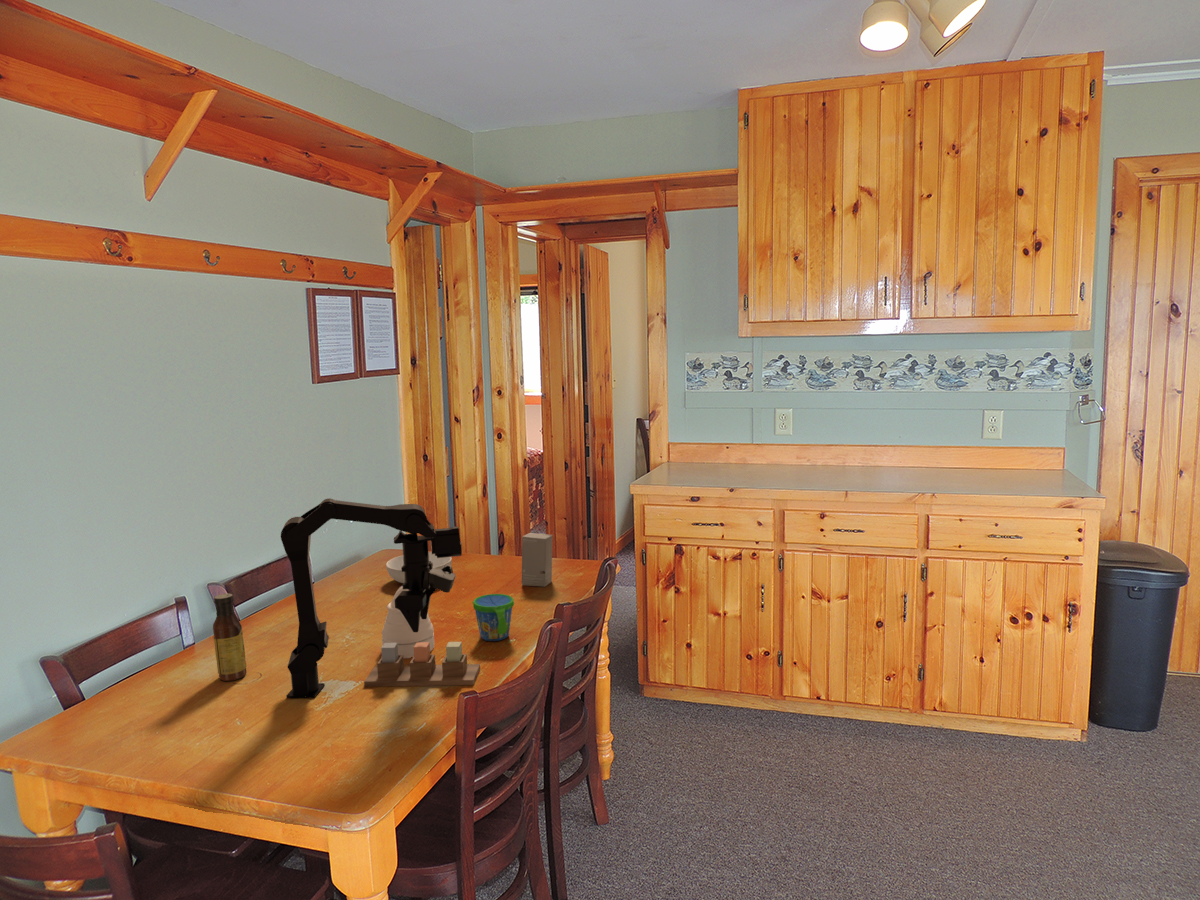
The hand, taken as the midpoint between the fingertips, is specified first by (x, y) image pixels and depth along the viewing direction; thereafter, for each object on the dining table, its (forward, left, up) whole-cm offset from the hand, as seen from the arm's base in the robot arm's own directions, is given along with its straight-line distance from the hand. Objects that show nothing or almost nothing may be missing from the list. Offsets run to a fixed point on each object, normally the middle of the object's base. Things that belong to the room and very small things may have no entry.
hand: (420, 625), depth 188 cm
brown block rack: (0, 0, -13) cm, 13 cm away
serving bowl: (+76, +19, -13) cm, 79 cm away
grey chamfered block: (0, +7, -9) cm, 12 cm away
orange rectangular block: (0, 0, -9) cm, 9 cm away
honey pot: (+18, +8, -13) cm, 23 cm away
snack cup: (+25, -13, -13) cm, 31 cm away
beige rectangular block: (0, -8, -9) cm, 12 cm away
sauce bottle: (+2, +46, -13) cm, 48 cm away
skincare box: (+71, -20, -13) cm, 75 cm away
